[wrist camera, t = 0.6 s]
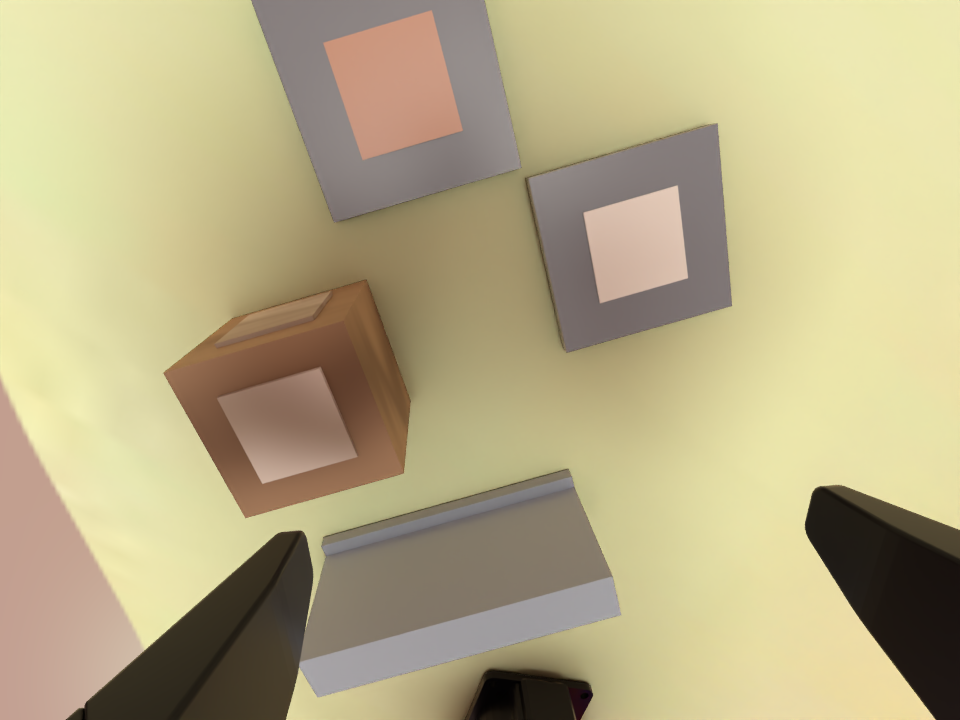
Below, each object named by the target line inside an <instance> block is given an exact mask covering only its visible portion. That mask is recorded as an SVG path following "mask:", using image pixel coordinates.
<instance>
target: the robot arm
mask: <svg viewBox="0 0 960 720" xmlns="http://www.w3.org/2000/svg"><path fill="white" fill-rule="evenodd" d="M805 530H806V534H807V536H808V538H809V540H810V542H811V543H812V545H813V546H814V548H815V550H816V551H817V553H818V554H819V556H820V558H821V559H822V561H823V562H824V564H825V566H826V567H827V569H828V570H829V572H830V573H831V575H832V577H833V578H834V580H835V581H836V583H837V585H838V586H839V588H840V589H841V591H842V592H843V594H844V596H845V597H846V599H847V600H848V602H849V604H850V605H851V607H852V608H853V610H854V611H855V613H856V614H857V616H858V617H859V619H860V620H861V621H862V623H863V624H864V625H865V627H866V628H867V630H868V631H869V632H870V634H871V635H872V636H873V638H874V639H875V640H876V642H877V643H878V644H879V645H880V647H881V648H882V649H883V651H884V652H885V653H886V655H887V656H888V657H889V659H890V660H891V661H892V663H893V664H894V665H895V667H896V668H897V669H898V671H899V672H900V673H901V675H902V676H903V677H904V678H905V680H906V681H907V682H908V684H909V685H910V686H911V688H912V689H913V690H914V692H915V693H916V694H917V696H918V697H919V698H920V700H921V701H922V702H923V704H924V705H925V706H926V707H927V709H928V710H929V711H930V713H931V714H932V715H933V717H934V718H935V719H936V720H960V530H958V529H955V528H953V527H950V526H948V525H945V524H942V523H940V522H937V521H934V520H932V519H929V518H927V517H924V516H921V515H919V514H916V513H913V512H911V511H908V510H905V509H903V508H900V507H898V506H895V505H892V504H890V503H887V502H884V501H882V500H879V499H877V498H874V497H871V496H869V495H866V494H863V493H861V492H858V491H855V490H853V489H850V488H848V487H845V486H842V485H830V486H820V487H817V488H816V489H815V490H814V491H813V493H812V496H811V500H810V504H809V508H808V513H807V517H806V521H805ZM312 584H313V568H312V563H311V558H310V553H309V548H308V543H307V538H306V535H305V533H304V532H302V531H290V532H281V533H278V534H277V535H275V536H274V537H273V538H272V539H271V540H269V541H268V542H267V543H266V544H265V545H264V546H263V547H261V548H260V549H259V550H258V551H257V552H256V553H255V554H254V555H252V556H251V557H250V558H249V559H248V560H247V561H246V562H244V563H243V564H242V565H241V566H240V567H239V568H238V569H237V570H235V571H234V572H233V573H232V574H231V575H230V576H229V577H227V578H226V579H225V580H224V581H223V582H222V583H221V584H219V585H218V586H217V587H216V588H215V589H214V590H213V591H212V592H210V593H209V594H208V595H207V596H206V597H205V598H204V599H202V600H201V601H200V602H199V603H198V604H197V605H196V606H195V607H193V608H192V609H191V610H190V611H189V612H188V613H187V614H185V615H184V616H183V617H182V618H181V619H180V620H179V621H178V622H176V623H175V624H174V625H173V626H172V627H171V628H170V629H168V630H167V631H166V632H165V633H164V634H163V635H162V636H161V637H159V638H158V639H157V640H156V641H155V642H154V643H153V644H151V645H150V646H149V647H148V648H147V649H146V650H145V651H144V652H142V653H141V654H140V655H139V656H138V657H137V658H136V659H134V660H133V661H132V662H131V663H130V664H129V665H128V666H127V667H125V669H123V670H122V671H121V672H120V673H119V674H117V675H116V676H115V677H114V678H113V679H112V680H111V681H110V682H108V683H107V684H106V685H105V686H104V687H103V688H102V689H100V690H99V691H98V692H97V693H96V694H95V695H94V696H92V698H90V699H89V700H88V701H87V702H86V704H85V707H84V708H79V709H77V710H76V711H75V712H74V713H73V714H72V715H71V716H70V717H68V718H67V719H66V720H286V717H287V713H288V709H289V706H290V702H291V698H292V695H293V691H294V687H295V683H296V679H297V675H298V669H299V664H300V658H301V652H302V646H303V640H304V634H305V627H306V621H307V615H308V609H309V603H310V597H311V590H312ZM592 697H593V693H592V689H591V686H590V685H589V684H587V683H580V682H573V681H566V680H558V679H551V678H543V677H536V676H528V675H521V674H513V673H506V672H499V671H490V672H487V673H486V674H485V675H484V676H483V678H482V681H481V683H480V686H479V688H478V690H477V693H476V695H475V698H474V700H473V702H472V705H471V707H470V709H469V712H468V714H467V717H466V719H465V720H580V719H581V718H582V716H583V714H584V712H585V710H586V708H587V706H588V704H589V703H590V701H591V699H592Z"/></svg>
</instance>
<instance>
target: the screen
mask: <svg viewBox="0 0 960 720" xmlns="http://www.w3.org/2000/svg"><path fill="white" fill-rule="evenodd" d="M321 547H322V549H323V551H324V553H325V555H326V558H325V561H324V565H323V569H322V572H321V576H320V580H319V583H318V587H317V591H316V594H315V598H314V602H313V605H312V609H311V613H310V616H309V620H308V624H307V627H306V631H305V635H304V640H303V646H302V652H301V658H300V664H299V667H300V669H301V671H302V672H303V674H304V676H305V677H306V679H307V681H308V682H309V684H310V686H311V687H312V689H313V691H314V692H315V694H316V696H317V697H321V696H325V695H329V694H332V693H336V692H340V691H343V690H347V689H351V688H354V687H358V686H362V685H365V684H369V683H373V682H376V681H380V680H384V679H387V678H391V677H395V676H398V675H402V674H406V673H409V672H413V671H417V670H421V669H424V668H428V667H432V666H435V665H439V664H443V663H446V662H450V661H454V660H457V659H461V658H465V657H468V656H472V655H476V654H479V653H483V652H487V651H490V650H494V649H498V648H501V647H505V646H509V645H512V644H516V643H520V642H523V641H527V640H531V639H535V638H538V637H542V636H546V635H549V634H553V633H557V632H560V631H564V630H568V629H571V628H575V627H579V626H582V625H586V624H590V623H593V622H597V621H601V620H604V619H608V618H612V617H615V616H619V615H621V612H620V608H619V603H618V599H617V594H616V590H615V585H614V581H613V576H612V574H611V572H610V569H609V567H608V565H607V562H606V560H605V558H604V555H603V553H602V551H601V548H600V546H599V544H598V541H597V539H596V537H595V534H594V532H593V530H592V527H591V525H590V523H589V520H588V518H587V516H586V513H585V511H584V509H583V506H582V504H581V502H580V499H579V497H578V495H577V492H576V490H575V488H574V484H573V480H572V476H571V474H570V471H569V469H567V470H564V471H560V472H557V473H553V474H549V475H546V476H542V477H539V478H535V479H531V480H528V481H524V482H521V483H517V484H513V485H510V486H506V487H503V488H499V489H496V490H492V491H488V492H485V493H481V494H478V495H474V496H470V497H467V498H463V499H460V500H456V501H452V502H449V503H445V504H442V505H438V506H435V507H431V508H427V509H424V510H420V511H417V512H413V513H409V514H406V515H402V516H399V517H395V518H392V519H388V520H384V521H381V522H377V523H374V524H370V525H366V526H363V527H359V528H356V529H352V530H348V531H345V532H341V533H338V534H334V535H331V536H327V537H324V538H323V542H322V545H321Z"/></svg>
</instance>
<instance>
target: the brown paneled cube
mask: <svg viewBox="0 0 960 720" xmlns="http://www.w3.org/2000/svg"><path fill="white" fill-rule="evenodd" d="M164 375H165V377H166V379H167V380H168V382H169V384H170V386H171V387H172V389H173V391H174V393H175V394H176V396H177V398H178V400H179V401H180V403H181V405H182V407H183V409H184V410H185V412H186V414H187V416H188V417H189V419H190V421H191V423H192V424H193V426H194V428H195V430H196V432H197V433H198V435H199V437H200V439H201V440H202V442H203V444H204V446H205V447H206V449H207V451H208V453H209V454H210V456H211V458H212V460H213V462H214V463H215V465H216V467H217V469H218V470H219V472H220V474H221V476H222V477H223V479H224V481H225V483H226V485H227V486H228V488H229V490H230V492H231V493H232V495H233V497H234V499H235V500H236V502H237V504H238V506H239V507H240V509H241V511H242V513H243V515H244V516H245V518H248V517H251V516H255V515H258V514H262V513H265V512H269V511H272V510H276V509H279V508H283V507H287V506H290V505H294V504H297V503H301V502H304V501H308V500H311V499H315V498H318V497H322V496H326V495H329V494H333V493H336V492H340V491H343V490H347V489H350V488H354V487H357V486H361V485H365V484H368V483H372V482H375V481H379V480H382V479H386V478H389V477H393V476H396V475H400V474H403V473H404V466H405V455H406V445H407V434H408V423H409V413H410V402H411V401H410V398H409V395H408V393H407V390H406V387H405V384H404V382H403V379H402V376H401V373H400V371H399V368H398V365H397V362H396V360H395V357H394V354H393V351H392V349H391V346H390V343H389V341H388V338H387V335H386V332H385V330H384V327H383V324H382V321H381V319H380V316H379V313H378V310H377V308H376V305H375V302H374V299H373V297H372V294H371V291H370V288H369V286H368V283H367V280H363V281H360V282H357V283H353V284H350V285H346V286H343V287H339V288H336V289H332V290H329V291H326V292H322V293H319V294H315V295H312V296H308V297H305V298H301V299H298V300H295V301H291V302H288V303H284V304H281V305H277V306H274V307H270V308H267V309H264V310H260V311H257V312H253V313H250V314H246V315H243V316H239V317H236V318H232V319H231V320H230V321H228V322H227V323H226V324H225V325H223V326H222V327H221V328H219V329H218V330H217V331H216V332H214V333H213V334H212V335H211V336H209V337H208V338H207V339H206V340H204V341H203V342H202V343H200V344H199V345H198V346H197V347H195V348H194V349H193V350H192V351H190V352H189V353H188V354H187V355H185V356H184V357H183V358H181V359H180V360H179V361H178V362H176V363H175V364H174V365H173V366H171V367H170V368H169V369H168V370H166V371H165V372H164Z"/></svg>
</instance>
